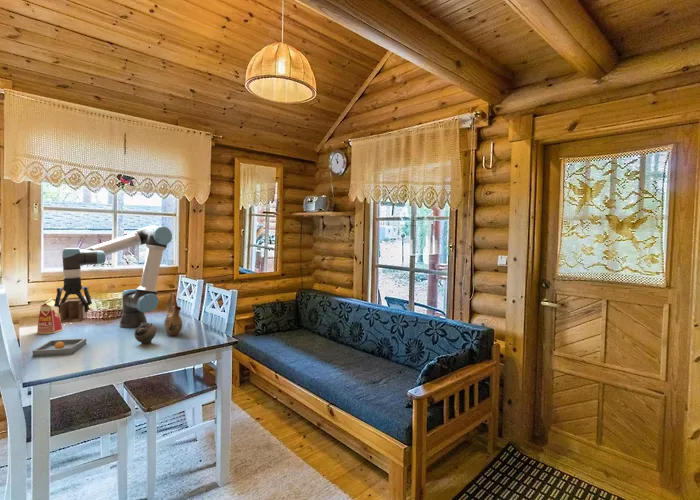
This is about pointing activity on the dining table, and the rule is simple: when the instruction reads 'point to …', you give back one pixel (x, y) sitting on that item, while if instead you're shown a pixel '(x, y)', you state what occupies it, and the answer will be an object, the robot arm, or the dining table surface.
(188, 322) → the dining table surface
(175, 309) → the ceramic vessel
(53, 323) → the milk carton
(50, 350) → the tray
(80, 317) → the brown open box
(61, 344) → the ball
